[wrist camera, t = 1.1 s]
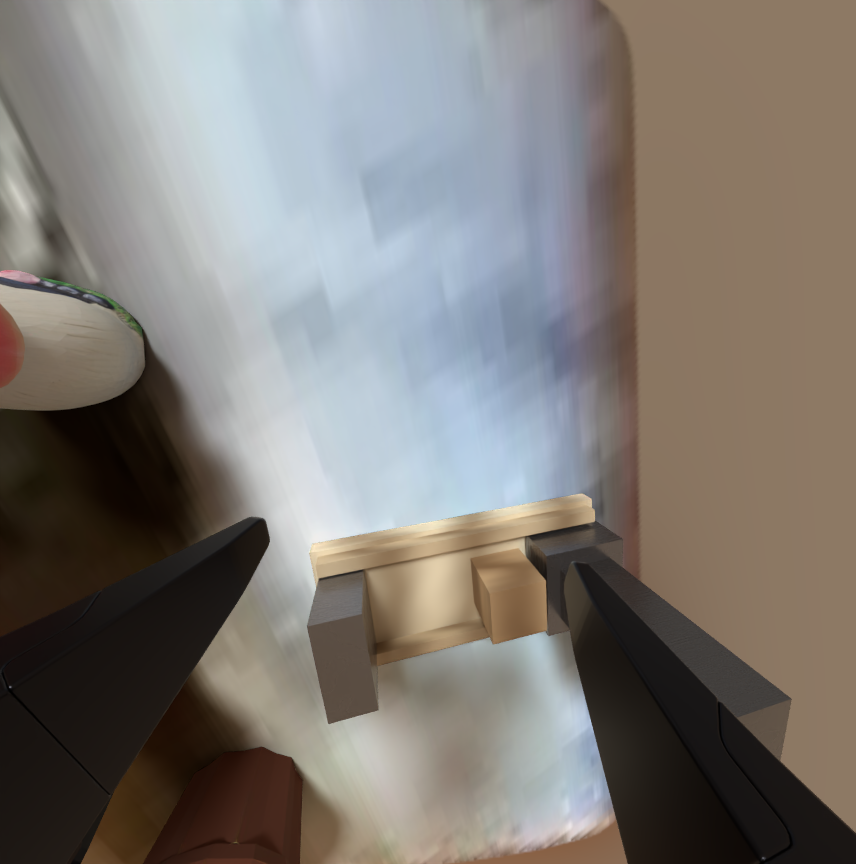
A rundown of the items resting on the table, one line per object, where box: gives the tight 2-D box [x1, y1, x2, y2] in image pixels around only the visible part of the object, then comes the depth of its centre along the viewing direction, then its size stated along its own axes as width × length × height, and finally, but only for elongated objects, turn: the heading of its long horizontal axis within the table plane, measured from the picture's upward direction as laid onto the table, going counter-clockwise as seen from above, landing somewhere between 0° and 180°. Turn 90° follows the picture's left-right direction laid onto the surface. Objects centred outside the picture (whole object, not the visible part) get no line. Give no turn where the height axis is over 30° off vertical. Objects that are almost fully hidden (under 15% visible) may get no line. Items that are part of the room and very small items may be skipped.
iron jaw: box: [307, 569, 378, 724], centre depth 21 cm, size 3×7×5 cm, turn 6°
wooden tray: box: [309, 494, 595, 666], centre depth 25 cm, size 22×10×2 cm, turn 96°
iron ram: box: [526, 521, 791, 760], centre depth 19 cm, size 6×7×13 cm
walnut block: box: [470, 548, 547, 644], centre depth 23 cm, size 4×4×4 cm
